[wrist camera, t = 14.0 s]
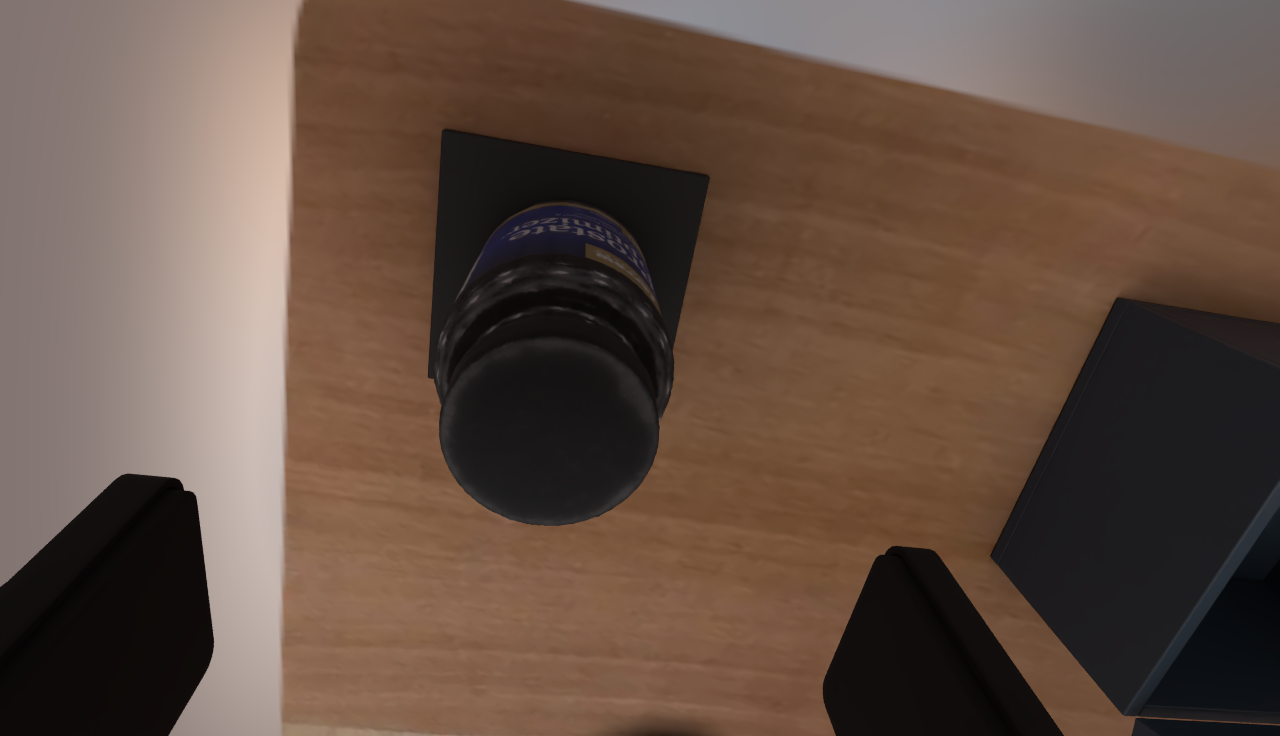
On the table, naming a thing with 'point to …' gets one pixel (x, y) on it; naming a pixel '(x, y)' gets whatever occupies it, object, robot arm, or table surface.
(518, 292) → the pill bottle
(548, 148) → the mat
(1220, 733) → the lid
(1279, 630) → the chest
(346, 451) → the table surface
